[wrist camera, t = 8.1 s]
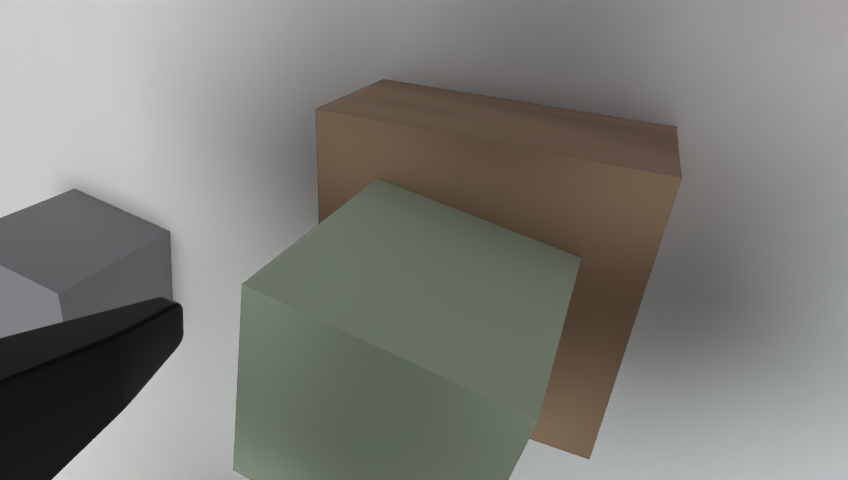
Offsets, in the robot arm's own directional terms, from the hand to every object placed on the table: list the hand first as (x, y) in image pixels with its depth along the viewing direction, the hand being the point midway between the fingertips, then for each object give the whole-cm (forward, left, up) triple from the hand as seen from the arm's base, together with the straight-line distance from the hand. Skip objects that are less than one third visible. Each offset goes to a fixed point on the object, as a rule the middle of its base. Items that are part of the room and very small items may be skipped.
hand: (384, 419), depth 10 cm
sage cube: (0, 0, -4) cm, 4 cm away
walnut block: (0, 0, -8) cm, 8 cm away
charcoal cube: (-8, +15, -8) cm, 19 cm away
